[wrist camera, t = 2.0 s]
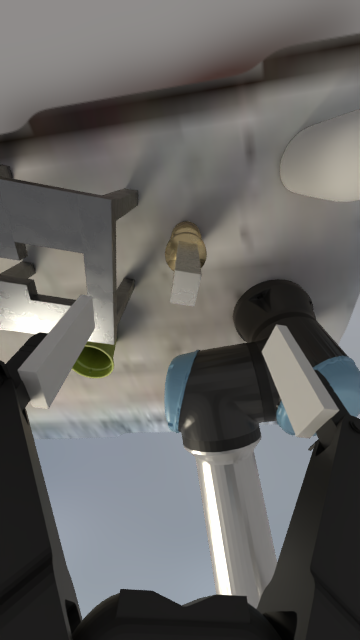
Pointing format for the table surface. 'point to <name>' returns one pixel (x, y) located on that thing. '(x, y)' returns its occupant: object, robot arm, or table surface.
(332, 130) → the milk bottle
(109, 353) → the plant pot
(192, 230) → the brass hanging weight
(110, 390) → the table surface
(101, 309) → the shelf
